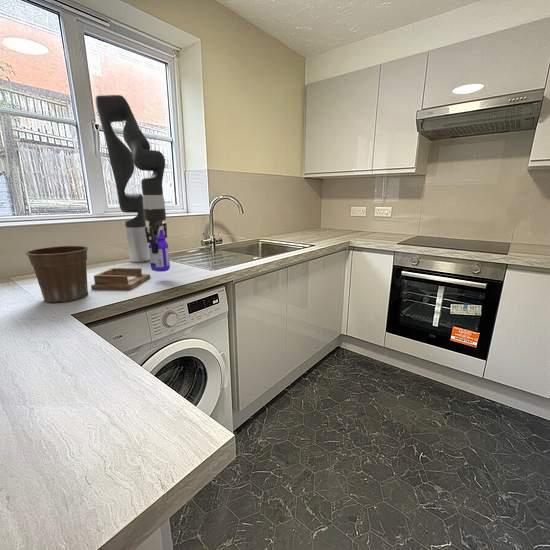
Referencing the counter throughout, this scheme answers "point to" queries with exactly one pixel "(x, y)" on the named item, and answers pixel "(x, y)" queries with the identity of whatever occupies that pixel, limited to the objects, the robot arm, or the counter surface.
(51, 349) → the counter surface
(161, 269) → the bottle
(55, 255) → the plant pot
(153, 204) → the robot arm
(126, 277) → the rail board
